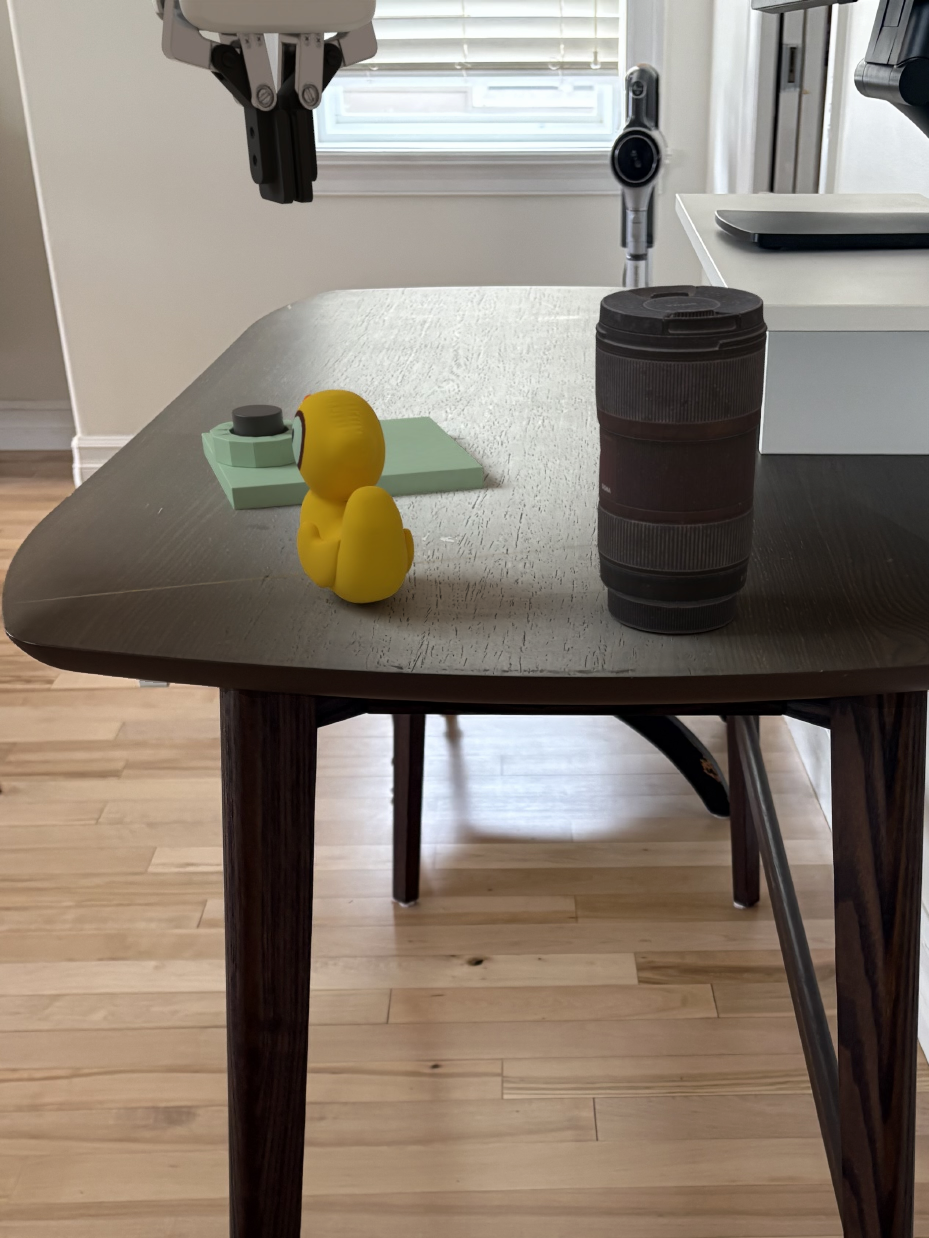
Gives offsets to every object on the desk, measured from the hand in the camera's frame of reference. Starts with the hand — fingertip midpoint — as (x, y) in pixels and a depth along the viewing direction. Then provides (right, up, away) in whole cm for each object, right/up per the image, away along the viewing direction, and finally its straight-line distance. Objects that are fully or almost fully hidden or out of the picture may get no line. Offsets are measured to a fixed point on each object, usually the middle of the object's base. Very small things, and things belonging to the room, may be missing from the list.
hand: (286, 199), depth 77 cm
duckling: (+3, -19, +4) cm, 20 cm away
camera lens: (+20, -21, +2) cm, 29 cm away
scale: (-1, -5, +24) cm, 24 cm away
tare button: (-6, -4, +21) cm, 22 cm away
